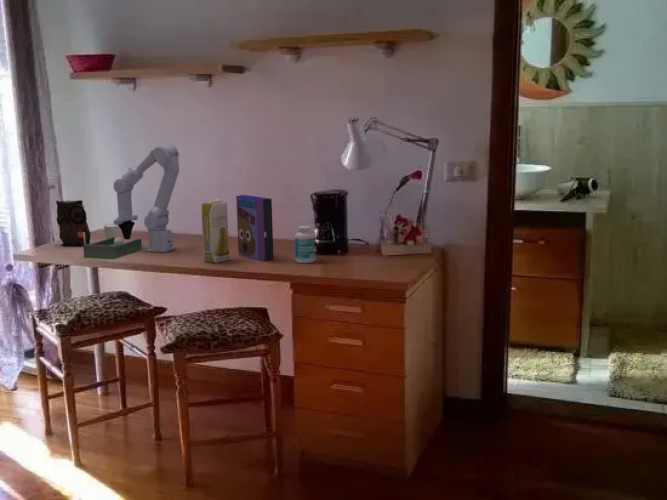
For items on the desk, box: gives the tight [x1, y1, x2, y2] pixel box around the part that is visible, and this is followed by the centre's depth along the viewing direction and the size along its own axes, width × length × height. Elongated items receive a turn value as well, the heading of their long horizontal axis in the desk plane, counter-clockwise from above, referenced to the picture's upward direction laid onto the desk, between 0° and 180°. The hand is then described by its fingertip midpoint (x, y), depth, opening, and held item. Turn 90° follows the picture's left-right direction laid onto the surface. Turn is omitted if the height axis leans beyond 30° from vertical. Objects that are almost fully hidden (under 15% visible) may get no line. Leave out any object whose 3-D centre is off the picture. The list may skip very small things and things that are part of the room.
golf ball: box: [114, 236, 125, 246], centre depth 315 cm, size 4×4×4 cm
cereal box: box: [235, 194, 274, 262], centre depth 296 cm, size 17×5×24 cm, turn 40°
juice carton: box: [200, 198, 230, 264], centre depth 291 cm, size 9×8×24 cm
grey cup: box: [103, 224, 121, 240], centre depth 339 cm, size 7×7×7 cm
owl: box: [55, 199, 92, 248], centre depth 329 cm, size 13×13×20 cm
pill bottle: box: [294, 225, 316, 264], centre depth 287 cm, size 8×7×14 cm
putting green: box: [78, 232, 143, 260], centre depth 311 cm, size 16×20×10 cm
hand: (127, 239), depth 320 cm, fingers closed
